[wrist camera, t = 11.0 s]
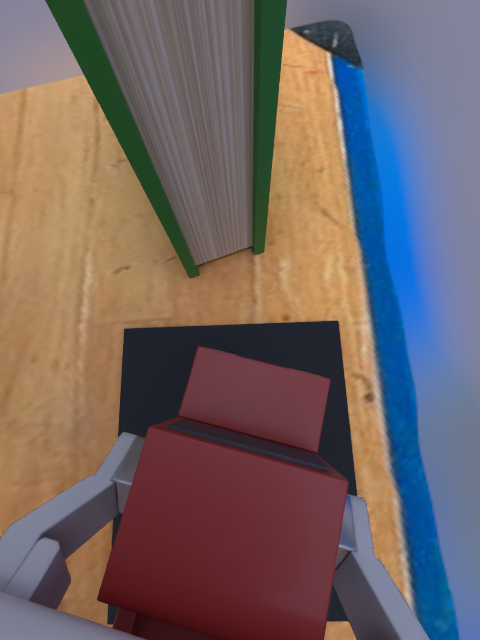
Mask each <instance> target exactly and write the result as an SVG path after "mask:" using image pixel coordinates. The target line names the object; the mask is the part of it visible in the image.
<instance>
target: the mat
mask: <svg viewBox="0 0 480 640" xmlns="http://www.w3.org/2000/svg"><path fill="white" fill-rule="evenodd" d="M198 346H201V347H205V348H210V349H214V350H218V351H222V352H226V353H230V354H234V355H237V356H241V357H245V358H249V359H253V360H257V361H261V362H266V363H270V364H274V365H278V366H282V367H286V368H291V369H295V370H299V371H303V372H307V373H311V374H315V375H319V376H322V377H326V378H330V379H331V382H330V387H329V393H328V398H327V403H326V409H325V414H324V420H323V425H322V431H321V436H320V442H319V447H318V452H317V453H316V454H318V455H319V456H320V457H321V458H322V459H323V460H325V461H326V462H327V463H328V464H329V465H330V466H332V467H333V468H334V469H335V470H336V471H337V472H339V473H340V474H341V475H342V476H343V477H344V478H346V479H347V480H348V482H349V484H348V490H347V494H349V495H353V496H357V489H356V480H355V470H354V461H353V452H352V442H351V433H350V424H349V415H348V405H347V396H346V387H345V378H344V368H343V359H342V350H341V341H340V331H339V322H338V321H320V322H294V323H267V324H240V325H213V326H187V327H160V328H133V329H124V344H123V361H122V378H121V396H120V413H119V430H118V438H119V436H120V435H121V434H122V433H123V432H126V433H130V434H134V435H137V436H140V437H143V438H146V435H147V431H148V428H149V427H150V426H153V425H156V424H159V423H162V422H165V421H168V420H171V419H174V418H177V417H178V414H179V410H180V406H181V402H182V399H183V396H184V393H185V390H186V387H187V383H188V380H189V376H190V373H191V369H192V365H193V362H194V358H195V355H196V351H197V348H198ZM121 518H122V513H118V515H117V516H115V517H114V518H113V535H112V548H113V544H114V541H115V538H116V534H117V531H118V528H119V524H120V521H121ZM117 610H118V607H116V606H113V605H110V604H108V622H107V624H114V620H115V617H116V613H117ZM327 621H349V620H348V618H347V616H346V613H345V611H344V609H343V606H342V604H341V602H340V599H339V597H338V595H337V592H336V590H335V588H334V585H332V591H331V597H330V604H329V610H328V616H327Z"/></svg>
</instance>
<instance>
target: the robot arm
mask: <svg viewBox="0 0 480 640" xmlns="http://www.w3.org/2000/svg"><path fill="white" fill-rule="evenodd" d="M144 441H145V438H143V437H140V436H137V435H134V434H130V433H126V432H123V433H122V434H121V435H120V436H119V438H118V439H117V441H116V442H115V444H114V445H113V447H112V449H111V450H110V452H109V453H108V455H107V457H106V458H105V460H104V461H103V463H102V465H101V466H100V468H99V469H98V471H97V473H96V474H95V476H94V475H89V476H87V477H86V478H84V479H83V480H81V481H79V482H78V483H76V484H75V485H73V486H72V487H70V488H68V489H67V490H65V491H64V492H62V493H60V494H59V495H57V496H56V497H54V498H52V499H51V500H49V501H48V502H46V503H45V504H43V505H41V506H40V507H38V508H37V509H35V510H33V511H32V512H30V513H29V514H27V515H25V516H24V517H22V518H21V519H19V520H18V521H16V522H14V523H13V524H11V525H10V527H9V528H8V529H7V531H6V532H5V533H4V534H3V536H2V537H1V538H0V640H147V639H144V638H141V637H138V636H134V635H131V634H128V633H125V632H122V631H119V630H116V629H113V628H110V627H107V626H104V625H101V624H98V623H95V622H92V621H89V620H86V619H83V618H80V617H77V616H74V615H71V614H68V613H65V612H62V611H59V610H57V608H58V606H59V604H60V602H61V600H62V599H63V597H64V595H65V593H66V591H67V589H68V587H69V585H70V583H71V578H70V574H69V571H68V568H67V565H66V562H65V559H67V558H68V557H69V556H70V555H71V554H72V553H74V552H75V551H76V550H77V549H78V548H79V547H81V546H82V545H83V544H84V543H85V542H86V541H87V540H89V539H90V538H91V537H92V536H93V535H94V534H96V533H97V532H98V531H99V530H100V529H101V528H103V527H104V526H105V525H106V524H107V523H108V522H110V521H111V520H112V519H113V518H114V517H115V516H117V515H118V513H122V514H123V511H124V508H125V504H126V501H127V498H128V494H129V491H130V488H131V484H132V481H133V478H134V474H135V471H136V468H137V465H138V461H139V458H140V455H141V451H142V448H143V445H144ZM333 585H334V588H335V590H336V592H337V595H338V597H339V599H340V602H341V604H342V606H343V609H344V611H345V613H346V616H347V618H348V620H349V623H350V625H351V627H352V630H353V632H354V635H355V637H356V639H357V640H430V639H429V637H428V636H427V634H426V633H425V631H424V629H423V628H422V626H421V625H420V623H419V621H418V620H417V618H416V617H415V615H414V613H413V612H412V610H411V609H410V607H409V605H408V604H407V602H406V601H405V599H404V597H403V596H402V594H401V593H400V591H399V589H398V588H397V586H396V584H395V583H394V581H393V580H392V578H391V576H390V575H389V573H388V572H387V570H386V568H385V567H384V565H383V564H382V562H381V560H380V559H378V558H375V555H374V549H373V542H372V536H371V530H370V523H369V517H368V511H367V504H366V502H365V500H364V499H363V498H361V497H357V496H353V495H349V494H347V496H346V503H345V509H344V515H343V522H342V528H341V534H340V541H339V547H338V553H337V560H336V566H335V572H334V579H333Z"/></svg>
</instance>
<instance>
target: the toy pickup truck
mask: <svg viewBox="0 0 480 640" xmlns="http://www.w3.org/2000/svg"><path fill="white" fill-rule="evenodd" d="M330 382H331V379H330V378H326V377H322V376H319V375H315V374H311V373H307V372H303V371H299V370H295V369H291V368H286V367H282V366H278V365H274V364H270V363H266V362H261V361H257V360H253V359H249V358H245V357H241V356H237V355H234V354H230V353H226V352H222V351H218V350H214V349H210V348H205V347H201V346H198V348H197V351H196V355H195V358H194V362H193V365H192V369H191V373H190V376H189V380H188V383H187V387H186V390H185V393H184V396H183V399H182V402H181V406H180V410H179V414H178V417H177V418H174V419H171V420H168V421H165V422H162V423H159V424H156V425H153V426H150V427H149V428H148V431H147V435H146V438H145V441H144V445H143V448H142V451H141V455H140V458H139V461H138V465H137V468H136V471H135V474H134V478H133V481H132V484H131V488H130V491H129V494H128V498H127V501H126V504H125V508H124V511H123V514H122V518H121V521H120V524H119V528H118V531H117V534H116V538H115V541H114V544H113V548H112V551H111V554H110V558H109V561H108V564H107V568H106V571H105V574H104V577H103V581H102V584H101V587H100V591H99V594H98V598H97V600H98V601H100V602H103V603H107V604H110V605H113V606H116V607H118V610H117V613H116V617H115V620H114V624H113V627H112V628H113V629H116V630H119V631H122V632H125V633H128V634H131V635H134V636H138V637H141V638H144V639H147V640H324V635H325V629H326V623H327V616H328V610H329V604H330V597H331V591H332V585H333V579H334V572H335V566H336V560H337V553H338V547H339V541H340V534H341V528H342V522H343V515H344V509H345V503H346V496H347V490H348V484H349V482H348V480H347V479H346V478H344V477H343V476H342V475H341V474H340V473H339V472H337V471H336V470H335V469H334V468H333V467H332V466H330V465H329V464H328V463H327V462H326V461H325V460H323V459H322V458H321V457H320V456H319V455H318V454H316V453H317V452H318V447H319V442H320V436H321V431H322V425H323V420H324V414H325V409H326V403H327V398H328V393H329V387H330Z"/></svg>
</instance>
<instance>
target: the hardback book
mask: <svg viewBox="0 0 480 640" xmlns="http://www.w3.org/2000/svg"><path fill="white" fill-rule="evenodd" d="M45 1H46V3H47V4H48V6H49V8H50V10H51V12H52V14H53V16H54V18H55V20H56V22H57V23H58V26H59V27H60V29H61V31H62V33H63V35H64V37H65V39H66V41H67V43H68V45H69V47H70V49H71V50H72V52H73V54H74V56H75V58H76V60H77V62H78V64H79V66H80V68H81V69H82V72H83V74H84V76H85V77H86V79H87V81H88V83H89V85H90V87H91V89H92V91H93V93H94V95H95V97H96V99H97V100H98V102H99V104H100V106H101V108H102V110H103V112H104V114H105V116H106V118H107V120H108V122H109V124H110V125H111V127H112V129H113V131H114V133H115V135H116V137H117V139H118V141H119V143H120V145H121V147H122V148H123V150H124V152H125V154H126V156H127V158H128V160H129V162H130V164H131V166H132V168H133V170H134V172H135V173H136V175H137V177H138V179H139V181H140V183H141V185H142V187H143V189H144V191H145V193H146V195H147V197H148V198H149V200H150V202H151V204H152V206H153V208H154V210H155V212H156V214H157V216H158V218H159V220H160V221H161V223H162V225H163V227H164V229H165V231H166V233H167V235H168V237H169V239H170V241H171V243H172V245H173V246H174V248H175V250H176V252H177V254H178V256H179V258H180V260H181V262H182V264H183V266H184V268H185V270H186V271H187V273H188V275H189V277H190V278H192V277H195V276H198V275H199V272H198V270H197V267H196V266H197V265H200V264H203V263H205V262H208V261H211V260H214V259H217V258H219V257H222V256H225V255H228V254H231V253H234V252H236V251H239V250H242V249H245V248H248V247H250V246H251V247H252V249H253V252H254V254H255V255H257V254H260V253H262V252H264V247H265V236H266V225H267V214H268V203H269V192H270V181H271V170H272V159H273V148H274V137H275V126H276V115H277V104H278V93H279V82H280V71H281V60H282V49H283V38H284V27H285V16H286V4H287V0H45Z"/></svg>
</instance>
